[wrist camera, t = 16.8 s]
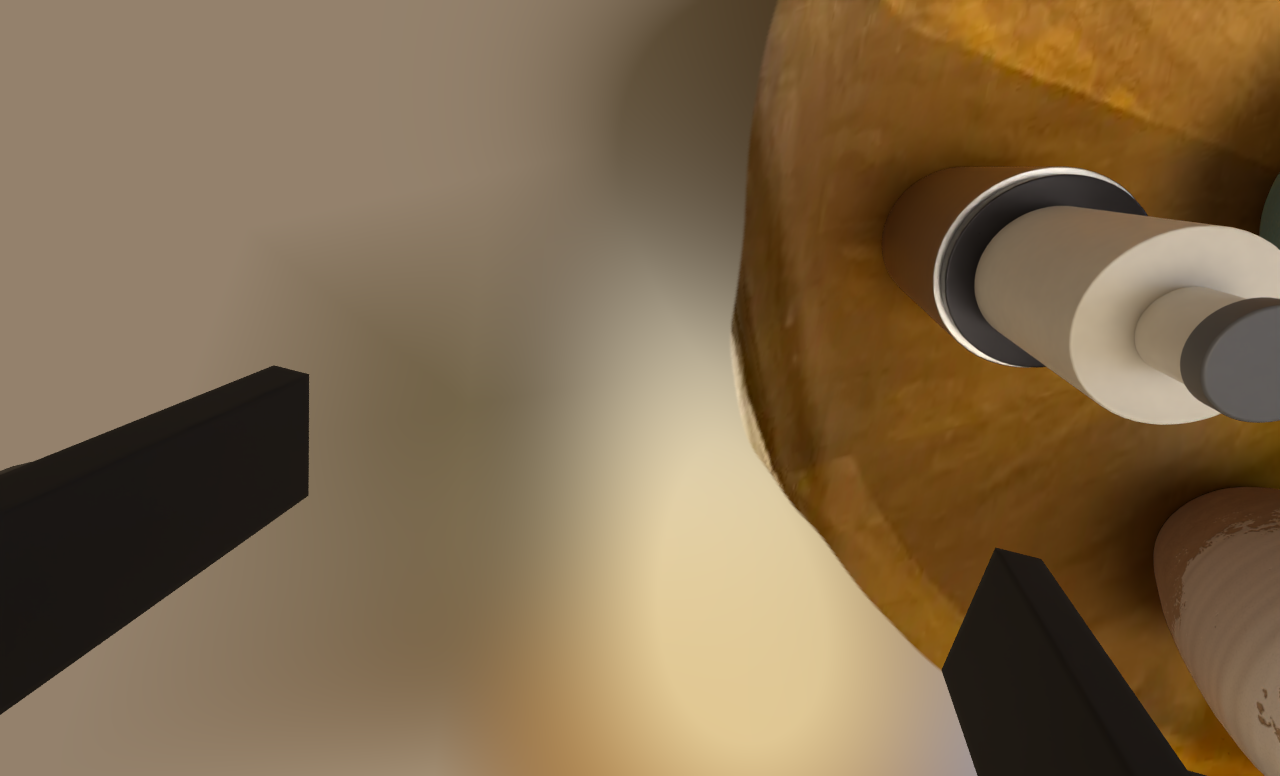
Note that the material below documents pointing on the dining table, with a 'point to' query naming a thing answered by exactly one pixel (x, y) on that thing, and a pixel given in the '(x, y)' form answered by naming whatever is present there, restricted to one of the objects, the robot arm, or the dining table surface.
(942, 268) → the metal canister
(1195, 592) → the vase
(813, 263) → the dining table surface
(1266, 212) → the plant pot
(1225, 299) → the bottle
